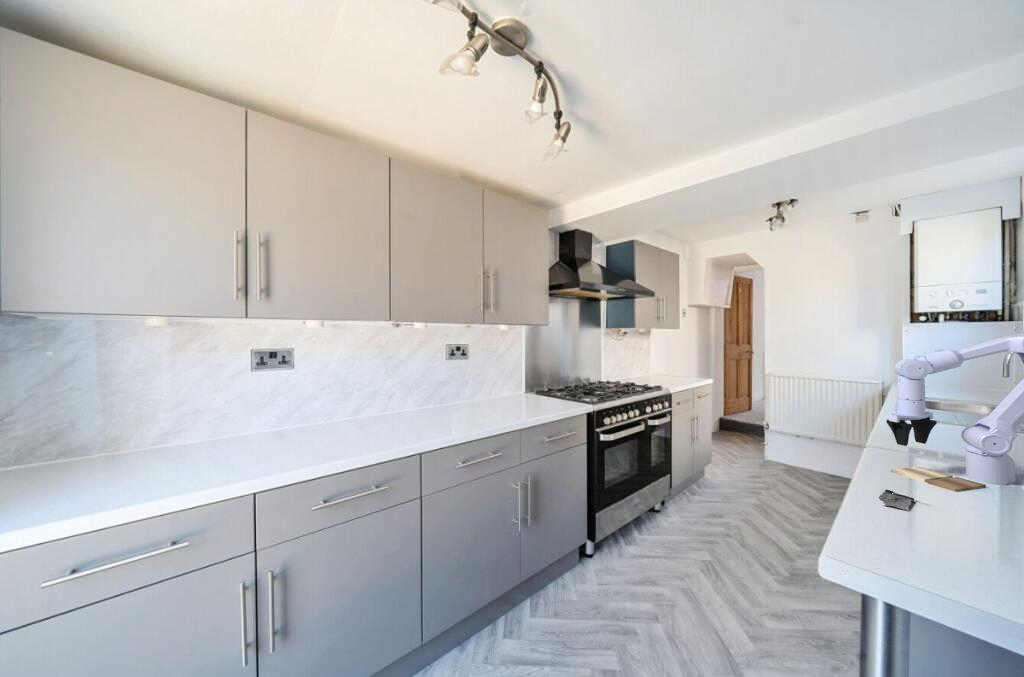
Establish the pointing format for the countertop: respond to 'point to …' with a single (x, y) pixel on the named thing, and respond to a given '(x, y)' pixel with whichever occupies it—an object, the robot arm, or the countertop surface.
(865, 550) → the countertop surface
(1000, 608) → the countertop surface
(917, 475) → the plank
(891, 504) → the driftwood
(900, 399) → the robot arm
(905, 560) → the countertop surface
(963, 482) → the floor row
